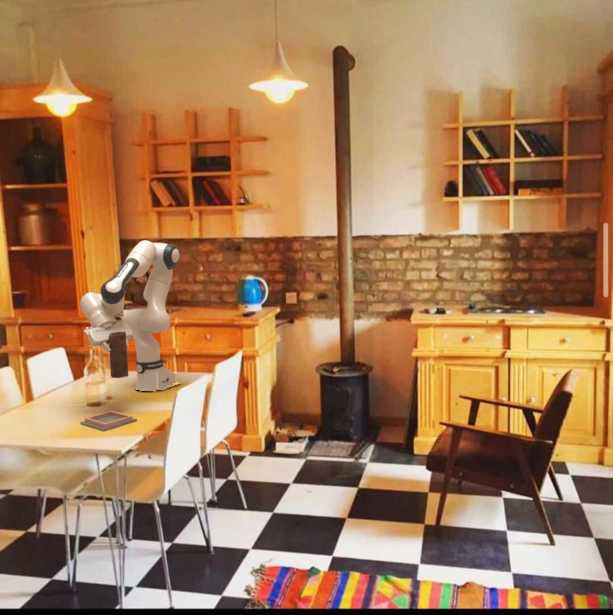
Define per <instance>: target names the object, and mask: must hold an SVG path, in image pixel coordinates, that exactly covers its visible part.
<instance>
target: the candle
mask: <svg viewBox="0 0 613 615" xmlns="http://www.w3.org/2000/svg"><path fill="white" fill-rule="evenodd" d="M108 346H111V348H112V351H111V352H109V366H110V367H109V369H110V377H111V378H112V379H122V378H128V377H129V364H128V362H129V361H128V350H127V349H128V348H127V345H126V332H113V333H110V334H109V344H108Z"/></svg>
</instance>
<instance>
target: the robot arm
mask: <svg viewBox="0 0 613 615" xmlns="http://www.w3.org/2000/svg"><path fill="white" fill-rule="evenodd" d="M180 258H181V251H180V249H179V247H178V246H176V245H174V244H172V243H163V242H152V241H150V240H147V239H146V240H141V241H139V242H138V243H137V244H136V245H135V246H134V247H133V248H132V250H131V251H130V253H129V254H128V255H127V257H126V259H125V261H124V262H123V264H122V265H121V266H120V267H119V268H118V270H117V271H116V272H115V274H114V275H113V276H112V277H111V278H110V279H108V280H107V281H105V282H103V284H102V285H101V287H100V293H96V292H93V291H90V292H87V293H85V294H84V295H83V296H82V297H81V299H80V302H79V305H80V308H81V310H82V312H83V314H84V316H85V317H86V318H87V319H88V320H89V322H90V323H89V324H90V325H91V326H90V327H89V326H87V327H86V328H85V329H84V334H85V336H86V337H87V340H88V342H89V344H90V345H91V347H93V348H95V347H99V346H100V347H101V348H103V349H104V350H106V351H107V353H110V352H111V351H112V348H111V346H109V334H110V333H113V332H126V345H127V349H128V348H129V347H130V345H129V343H128V340H130V339H131V338H133V342H134V345H135V350H136V351H135V352H136V361H135V363H136V364H135V366H136V367H135V368H136V382H135V383H136V384H135V387H134V390H135V389H136V390H140V391H139V392H141V391H153V390H164V389H166V388H168V387H170V386H173V383H176V376H175V372H174V371H172V370H171V369H169V368H167V366H165V364H167V363H168V360H167V359H166V358H163V359H162V358H161V348H160V347H161V346H160V343H159V341H158V340H157V339H155V337H154V336H153V334H152V333H154V334H158V333H159V334H160V333H164V332H167V331H168V330H169V328H170V326H171V322H172V321H171V316H170V315H169V313H168V312H167V308H166V303H167V297H168V294H169V291H170V288H171V285H172V284H171V283H172V280H173V273H174V271H173V269H174V268H175V267H176V266H177V265H178V263H179V261H180ZM151 266H152V269H151V271H150V274H149V276H148V279H147V281H146V285H145V287H144V291H143V299H144V300H145V301H146V302H147V307H146V309H145V308H132V309H128V310H127V311H125V312H124V314H123V317H122V316H118V315H119V314H121V313H122V312H123V310H124V309H125V293H126V292H125V291H126V285H127V284H128V282H129V281H130V280H131V278H142V277H144V275H146V273H147V272H148V270H150V267H151ZM136 390H135V391H136ZM164 391H165V390H164ZM153 392H154V391H153Z"/></svg>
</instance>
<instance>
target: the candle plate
mask: <svg viewBox="0 0 613 615" xmlns="http://www.w3.org/2000/svg"><path fill="white" fill-rule="evenodd" d="M137 421H138V418H134V417H133V415H130V414H125V413H122V412H118V411H114V410H108V411H105V412H102V413H97V414H94V415H91V416H87V417H85V418H84V420H83V421H80V425H82V426H85V427H89V428H91V427H92V429H95V430H98V431H102V432H106V431H110V430H113V429H115V428H119V427H123V426H125V425H129V424H132V423H134V422H137Z"/></svg>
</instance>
